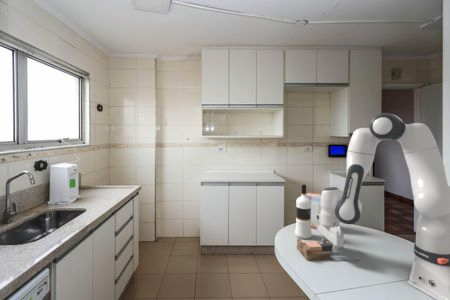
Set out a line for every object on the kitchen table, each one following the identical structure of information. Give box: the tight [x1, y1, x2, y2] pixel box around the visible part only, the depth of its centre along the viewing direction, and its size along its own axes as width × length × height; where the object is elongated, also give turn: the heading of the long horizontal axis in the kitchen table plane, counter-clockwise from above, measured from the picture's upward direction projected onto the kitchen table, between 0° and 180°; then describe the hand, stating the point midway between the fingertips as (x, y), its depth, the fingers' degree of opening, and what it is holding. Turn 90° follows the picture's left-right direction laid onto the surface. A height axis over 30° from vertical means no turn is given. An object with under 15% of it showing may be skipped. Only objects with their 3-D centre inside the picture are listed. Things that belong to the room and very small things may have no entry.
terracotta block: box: [304, 240, 333, 252], centre depth 124 cm, size 6×13×5 cm, turn 95°
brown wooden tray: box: [296, 238, 331, 261], centre depth 124 cm, size 12×12×5 cm
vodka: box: [294, 184, 313, 240], centre depth 144 cm, size 9×9×30 cm
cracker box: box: [306, 192, 321, 230], centre depth 158 cm, size 14×6×21 cm, turn 44°
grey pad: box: [327, 245, 360, 262], centre depth 125 cm, size 16×12×1 cm
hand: (329, 247), depth 125 cm, fingers open, 8 cm apart
